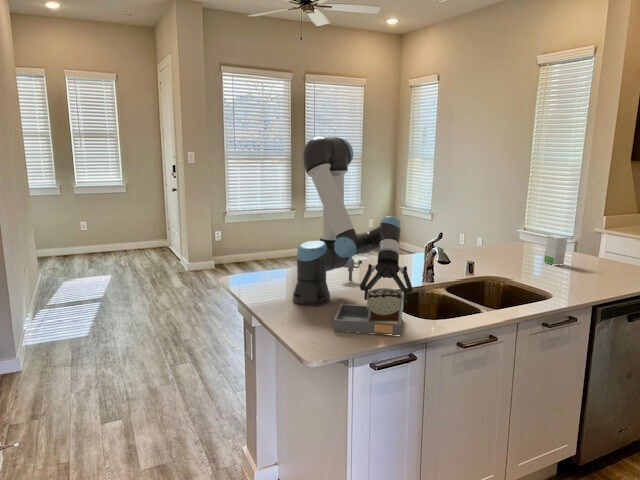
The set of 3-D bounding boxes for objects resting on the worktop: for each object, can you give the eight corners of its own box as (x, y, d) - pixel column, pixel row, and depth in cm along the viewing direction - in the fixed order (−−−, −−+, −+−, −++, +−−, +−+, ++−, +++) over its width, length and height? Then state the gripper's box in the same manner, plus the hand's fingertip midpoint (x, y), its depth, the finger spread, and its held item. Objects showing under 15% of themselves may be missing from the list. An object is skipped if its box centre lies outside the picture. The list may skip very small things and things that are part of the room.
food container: (400, 315, 161) (401, 287, 159) (402, 321, 155) (403, 293, 153) (365, 315, 162) (365, 287, 160) (366, 321, 156) (366, 293, 154)
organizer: (333, 331, 154) (333, 320, 153) (340, 314, 170) (340, 303, 169) (400, 337, 150) (401, 325, 149) (401, 318, 166) (402, 308, 166)
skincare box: (543, 262, 253) (546, 234, 250) (553, 261, 255) (556, 234, 252) (554, 266, 245) (557, 237, 242) (564, 265, 247) (568, 237, 244)
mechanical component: (360, 281, 212) (361, 260, 210) (338, 280, 214) (339, 259, 212) (361, 279, 215) (362, 259, 213) (339, 278, 217) (340, 257, 215)
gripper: (420, 261, 168) (419, 316, 156) (357, 258, 172) (351, 311, 160) (421, 250, 162) (420, 307, 150) (356, 247, 166) (350, 302, 154)
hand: (384, 309), depth 155 cm, fingers closed on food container, 11 cm apart
